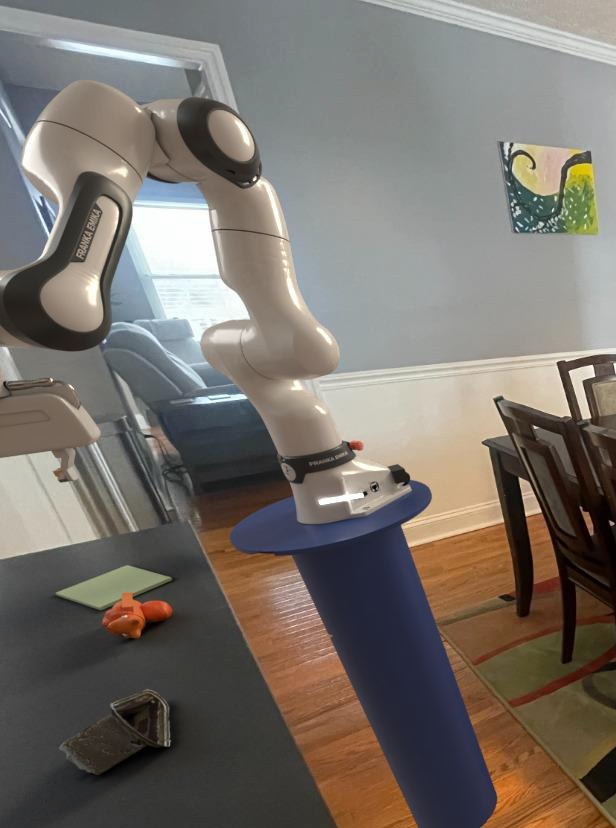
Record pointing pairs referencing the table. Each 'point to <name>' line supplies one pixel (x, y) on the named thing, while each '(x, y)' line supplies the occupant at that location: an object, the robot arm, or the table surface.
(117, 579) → the place mat
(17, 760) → the table surface
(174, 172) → the robot arm
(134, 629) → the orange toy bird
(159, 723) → the brown hollow wedge shell
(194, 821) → the table surface
